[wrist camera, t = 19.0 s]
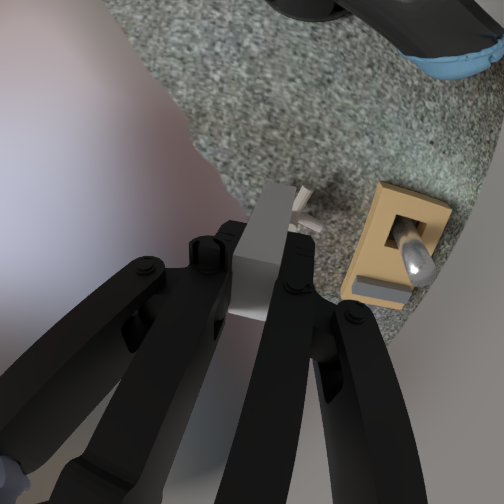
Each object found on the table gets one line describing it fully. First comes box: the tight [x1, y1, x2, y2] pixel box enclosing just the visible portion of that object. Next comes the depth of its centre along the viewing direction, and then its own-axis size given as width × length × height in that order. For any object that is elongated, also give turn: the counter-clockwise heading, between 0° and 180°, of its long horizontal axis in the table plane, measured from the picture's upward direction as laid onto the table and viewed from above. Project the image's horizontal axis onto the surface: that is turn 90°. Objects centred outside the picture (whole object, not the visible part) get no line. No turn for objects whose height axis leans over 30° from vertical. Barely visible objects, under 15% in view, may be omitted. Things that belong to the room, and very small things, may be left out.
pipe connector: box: [288, 184, 324, 232], centre depth 42 cm, size 10×10×10 cm
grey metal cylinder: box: [391, 216, 437, 287], centre depth 38 cm, size 4×4×14 cm
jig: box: [341, 181, 452, 310], centre depth 45 cm, size 24×14×5 cm, turn 174°
